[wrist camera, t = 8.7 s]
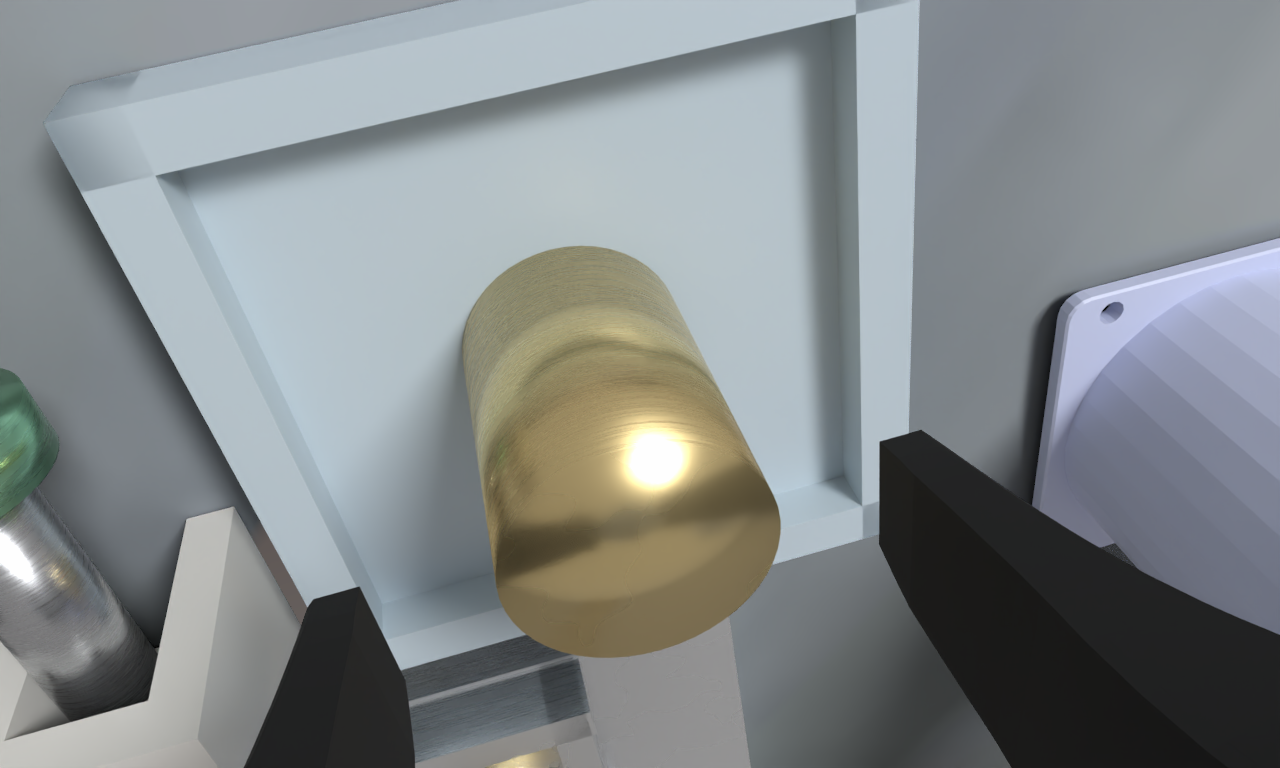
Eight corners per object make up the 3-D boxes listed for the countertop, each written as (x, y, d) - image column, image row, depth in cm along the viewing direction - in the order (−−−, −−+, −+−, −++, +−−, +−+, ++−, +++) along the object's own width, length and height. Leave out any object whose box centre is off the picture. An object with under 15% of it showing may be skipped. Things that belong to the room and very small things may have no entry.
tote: (877, -91, 15) (921, -73, 14) (877, 482, 22) (906, 526, 21) (70, 85, 14) (43, 124, 13) (350, 628, 21) (349, 684, 20)
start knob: (45, 348, 14) (-13, 469, 12) (235, 645, 18) (217, 775, 16) (-153, 396, 14) (-250, 529, 12) (85, 686, 18) (47, 824, 16)
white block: (233, 506, 19) (198, 738, 14) (308, 637, 21) (294, 868, 17) (20, 562, 18) (-80, 817, 14) (120, 689, 21) (60, 939, 17)
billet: (664, 221, 17) (771, 410, 12) (691, 401, 19) (788, 612, 15) (435, 278, 16) (461, 493, 12) (491, 454, 19) (531, 687, 14)
